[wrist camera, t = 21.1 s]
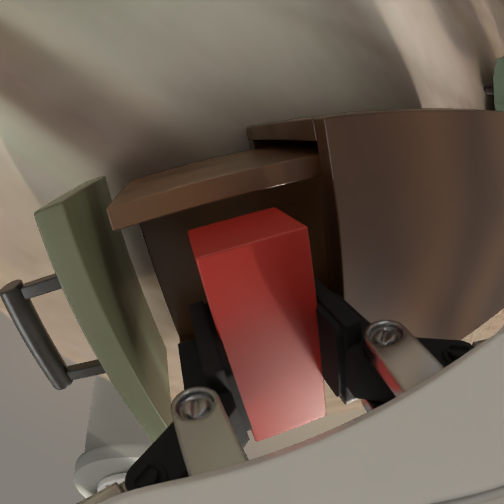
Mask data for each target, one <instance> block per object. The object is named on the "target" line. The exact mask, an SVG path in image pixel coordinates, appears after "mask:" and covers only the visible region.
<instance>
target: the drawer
mask: <svg viewBox="0 0 504 504" xmlns="http://www.w3.org/2000/svg"><path fill="white" fill-rule="evenodd" d="M273 207H275V208H277V209H279V210H280V211H282V212H284V213H285V214H287V215H289V216H290V217H292V218H294V219H295V220H297V221H299V222H300V223H302V224H304V225H305V226H307V228H308V234H309V242H310V249H311V257H312V265H313V273H314V277H315V278H316V279H317V280H319V281H320V282H321V283H322V284H323V285H324V286H325V287H326V288H327V289H328V290H329V291H331V292H332V293H335V292H334V279H333V267H332V256H331V245H330V236H329V226H328V217H327V209H326V201H325V193H324V185H323V178H322V171H321V164H320V158H319V151H318V145H317V141H294V142H288V143H283V144H277V145H272V146H267V147H262V148H257V149H252V150H248V151H243V152H238V153H234V154H229V155H225V156H221V157H216V158H212V159H208V160H204V161H200V162H196V163H192V164H188V165H184V166H181V167H177V168H173V169H169V170H166V171H162V172H159V173H155V174H152V175H148V176H145V177H142V178H138V179H135V180H132V181H130V182H129V183H128V184H127V185H126V186H125V187H124V188H123V190H122V191H121V192H120V193H119V194H118V195H117V196H116V198H115V199H114V200H113V201H112V199H111V196H110V192H109V189H108V185H107V182H106V178H105V176H102V177H99V178H96V179H93V180H90V181H87V182H85V183H83V184H82V185H80V186H78V187H76V188H74V189H73V190H71V191H69V192H67V193H66V194H64V195H62V196H60V197H59V198H57V199H55V200H54V201H52V202H50V203H49V204H47V205H45V206H44V207H42V208H40V209H39V210H37V211H36V212H35V213H34V216H35V219H36V222H37V225H38V228H39V231H40V234H41V237H42V239H43V242H44V245H45V248H46V250H47V253H48V255H49V258H50V261H51V263H52V266H53V268H54V270H55V274H52V275H49V276H46V277H43V278H40V279H37V280H34V281H31V282H28V283H25V284H23V282H22V280H15V281H12V282H10V283H8V284H7V285H5V286H4V287H3V288H2V289H1V290H0V296H1V298H2V300H3V302H4V305H5V307H6V309H7V310H8V312H9V314H10V316H11V318H12V320H13V322H14V324H15V326H16V327H17V329H18V331H19V333H20V335H21V336H22V338H23V340H24V342H25V343H26V345H27V347H28V348H29V350H30V352H31V353H32V355H33V356H34V358H35V359H36V361H37V363H38V364H39V366H40V368H41V369H42V371H43V372H44V373H45V375H46V377H47V378H48V380H49V381H50V382H51V384H52V385H53V387H54V388H55V389H57V390H61V389H65V388H67V387H68V386H69V385H70V384H71V383H72V382H73V380H75V379H80V378H85V377H90V376H94V375H99V374H104V373H107V375H108V377H109V378H110V380H111V382H112V383H113V385H114V386H115V388H116V390H117V391H118V393H119V394H120V396H121V397H122V399H123V400H124V402H125V403H126V405H127V406H128V408H129V409H130V411H131V412H132V414H133V415H134V417H135V418H136V419H137V421H138V422H139V424H140V425H141V426H142V428H143V429H144V430H145V432H146V433H147V435H148V436H149V437H150V439H151V440H152V441H153V442H155V441H156V440H157V439H158V437H159V436H160V435H161V434H162V433H163V432H164V431H165V430H166V429H167V428H168V426H169V425H170V424H171V423H172V422H173V419H172V415H171V397H170V387H169V376H168V365H167V352H166V347H165V345H164V343H163V340H162V338H161V336H160V334H159V331H158V329H157V326H156V324H155V322H154V319H153V317H152V314H151V312H150V309H149V307H148V304H147V302H146V299H145V297H144V294H143V292H142V289H141V286H140V284H139V281H138V278H137V276H136V273H135V270H134V267H133V264H132V262H131V259H130V256H129V253H128V250H127V247H126V244H125V241H124V238H123V235H122V232H121V229H122V228H125V227H128V226H131V225H135V224H138V223H140V226H141V229H142V233H143V236H144V239H145V242H146V245H147V248H148V252H149V255H150V258H151V261H152V264H153V267H154V270H155V272H156V275H157V278H158V281H159V284H160V287H161V290H162V292H163V295H164V298H165V301H166V303H167V306H168V309H169V311H170V314H171V317H172V319H173V322H174V324H175V327H176V330H177V332H178V335H179V339H180V343H182V342H186V341H189V340H193V339H195V334H194V329H193V325H192V320H191V315H190V310H189V304H192V303H195V302H199V301H202V300H203V303H204V304H206V303H208V302H207V298H206V295H205V292H204V288H203V285H202V282H201V278H200V275H199V271H198V268H197V265H196V261H195V258H194V254H193V251H192V247H191V243H190V240H189V236H188V231H189V230H192V229H195V228H199V227H202V226H206V225H209V224H213V223H217V222H220V221H224V220H228V219H231V218H235V217H239V216H242V215H246V214H250V213H254V212H257V211H261V210H265V209H269V208H273ZM61 288H62V289H63V291H64V294H65V296H66V298H67V300H68V302H69V304H70V307H71V309H72V311H73V313H74V315H75V317H76V319H77V321H78V323H79V325H80V327H81V329H82V331H83V333H84V334H85V336H86V338H87V340H88V342H89V344H90V346H91V347H92V349H93V351H94V353H95V355H96V356H97V358H98V359H97V360H93V361H88V362H84V363H80V364H75V365H70V366H67V365H66V363H65V362H64V360H63V359H62V357H61V355H60V353H59V352H58V350H57V348H56V347H55V345H54V343H53V341H52V340H51V338H50V336H49V334H48V332H47V331H46V329H45V327H44V325H43V323H42V321H41V319H40V317H39V315H38V314H37V312H36V310H35V308H34V306H33V303H32V301H31V299H30V298H32V297H35V296H39V295H42V294H45V293H48V292H51V291H55V290H58V289H61ZM324 380H325V379H324Z"/></svg>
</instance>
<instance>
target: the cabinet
mask: <svg viewBox="0 0 504 504" xmlns="http://www.w3.org/2000/svg"><path fill="white" fill-rule="evenodd" d="M247 133H248V138H249V143H250V148H251V150H252V149H257V148H262V147H267V146H272V145H277V144H283V143H288V142H294V141H317V145H318V151H319V158H320V164H321V171H322V178H323V185H324V193H325V201H326V209H327V217H328V226H329V236H330V245H331V256H332V267H333V279H334V292H335V293H337V294H338V295H340V296H341V297H342V298H343V299H344V300H345V301H346V302H347V303H349V304H350V305H351V306H352V307H353V308H354V309H355V310H356V311H357V312H359V313H360V314H361V315H362V316H363V317H364V318H365V319H366V320H367V321H368V322H370V323H373V322H375V321H379V320H394V321H397V322H399V323H401V324H402V325H404V326H405V327H406V328H407V329H408V330H409V331H410V332H411V333H412V334H413V335H414V336H415V337H419V338H433V339H448V340H461V339H463V338H464V337H466V336H467V335H468V334H470V333H471V332H473V331H474V330H475V329H477V328H478V327H480V326H481V325H482V324H484V323H485V322H486V321H488V320H489V319H490V318H492V317H493V316H494V315H495V314H497V313H498V312H499V311H501V310H502V309H503V308H504V111H493V110H478V109H453V108H412V109H389V110H373V111H360V112H349V113H339V114H329V115H321V116H313V117H305V118H298V119H291V120H285V121H279V122H272V123H267V124H261V125H255V126H250V127H247ZM339 397H340V398H341V400H342V401H343V402H344V404H345V405H346V404H348V403H350V402H353V401H355V400H357V399H358V398H354V399H352V400H350V401H348V402H346V401H345V400H344V399H343V397H342V396H339Z"/></svg>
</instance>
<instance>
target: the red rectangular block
mask: <svg viewBox="0 0 504 504" xmlns="http://www.w3.org/2000/svg"><path fill="white" fill-rule="evenodd" d="M188 236H189V240H190V243H191V247H192V251H193V254H194V258H195V261H196V265H197V268H198V271H199V275H200V278H201V282H202V285H203V288H204V292H205V295H206V298H207V302H208V305H209V308H210V311H211V314H212V317H213V320H214V323H215V327H216V330H217V333H218V336H219V339H222V342H223V345H224V348H225V351H226V354H227V357H228V360H229V363H230V365H231V368H232V371H233V374H234V377H235V380H236V383H237V386H238V389H239V392H240V395H241V398H242V401H243V403H244V406H245V409H246V412H247V415H248V418H249V420H250V423H251V426H252V430H251V431H252V433H253V436H254V439H255V441H260V440H263V439H266V438H269V437H272V436H275V435H277V434H280V433H283V432H286V431H288V430H291V429H294V428H296V427H299V426H302V425H304V424H307V423H309V422H312V421H314V420H316V419H319V418H321V417H324V416H325V415H326V408H325V392H324V378H323V377H322V367H321V354H320V343H319V332H318V322H317V312H316V308H317V300H316V291H315V282H314V273H313V265H312V257H311V249H310V242H309V234H308V228H307V226H305V225H304V224H302V223H300V222H299V221H297V220H295V219H294V218H292V217H290V216H289V215H287V214H285V213H284V212H282V211H280V210H279V209H277V208H275V207H273V208H269V209H265V210H261V211H257V212H254V213H250V214H246V215H242V216H239V217H235V218H231V219H228V220H224V221H220V222H217V223H213V224H209V225H206V226H202V227H199V228H195V229H192V230H189V231H188Z"/></svg>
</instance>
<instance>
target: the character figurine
mask: <svg viewBox="0 0 504 504" xmlns="http://www.w3.org/2000/svg"><path fill="white" fill-rule="evenodd" d="M493 83H494V85H485V86H484V91H485V93H486V94H487V95H491V96H494V105H495V110H496V111H504V56H503V57H501V58H498V59H497V60H496V65H495V70H494V75H493Z"/></svg>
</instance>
